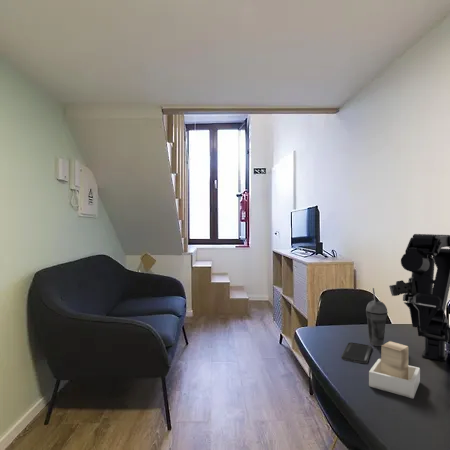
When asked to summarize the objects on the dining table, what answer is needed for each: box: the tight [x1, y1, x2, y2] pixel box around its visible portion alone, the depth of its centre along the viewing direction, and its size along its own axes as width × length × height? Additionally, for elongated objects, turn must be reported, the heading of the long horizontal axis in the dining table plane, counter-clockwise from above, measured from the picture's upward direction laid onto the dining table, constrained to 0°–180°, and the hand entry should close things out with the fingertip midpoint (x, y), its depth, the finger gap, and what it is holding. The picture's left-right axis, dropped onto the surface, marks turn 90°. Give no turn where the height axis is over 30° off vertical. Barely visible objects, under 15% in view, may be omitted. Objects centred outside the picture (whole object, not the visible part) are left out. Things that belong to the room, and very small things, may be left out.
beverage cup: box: [365, 287, 388, 347], centre depth 123 cm, size 7×7×20 cm
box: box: [368, 358, 421, 400], centre depth 93 cm, size 11×11×4 cm
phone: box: [340, 342, 373, 364], centre depth 115 cm, size 8×1×15 cm
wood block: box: [380, 340, 409, 380], centre depth 93 cm, size 5×5×10 cm
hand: (418, 328), depth 101 cm, fingers open, 9 cm apart
